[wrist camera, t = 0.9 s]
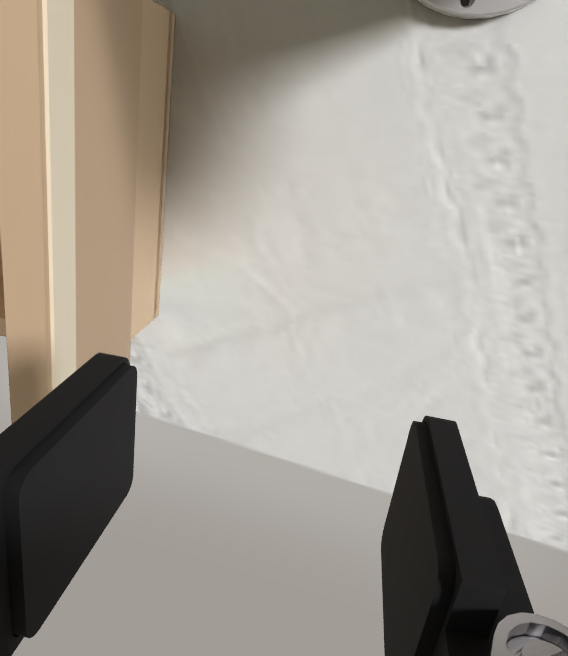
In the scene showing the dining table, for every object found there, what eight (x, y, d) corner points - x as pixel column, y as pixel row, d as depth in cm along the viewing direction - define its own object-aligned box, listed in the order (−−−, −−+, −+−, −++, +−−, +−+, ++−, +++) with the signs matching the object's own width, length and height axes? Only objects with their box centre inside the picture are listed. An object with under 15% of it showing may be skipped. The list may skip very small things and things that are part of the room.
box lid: (-29, -249, 10) (35, -233, 10) (121, -33, 25) (145, -28, 25) (21, 593, 17) (56, 593, 18) (112, 366, 33) (131, 367, 33)
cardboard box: (-65, -19, 34) (-184, -60, 27) (175, 14, 33) (119, -20, 25) (-38, 278, 41) (-126, 310, 34) (158, 314, 40) (111, 357, 33)
